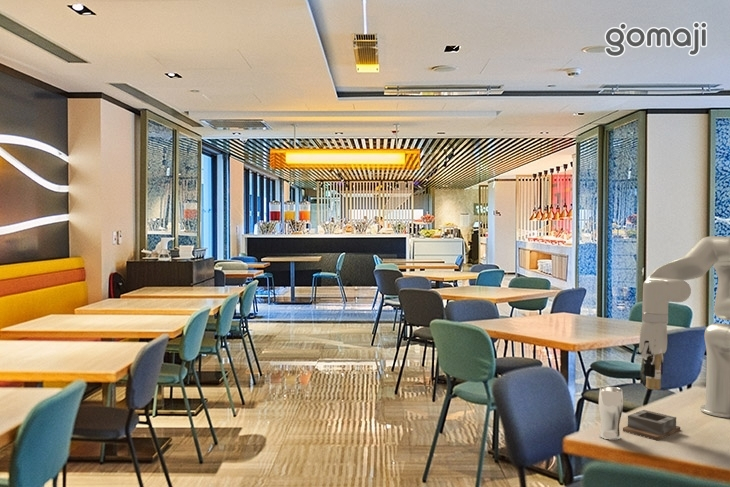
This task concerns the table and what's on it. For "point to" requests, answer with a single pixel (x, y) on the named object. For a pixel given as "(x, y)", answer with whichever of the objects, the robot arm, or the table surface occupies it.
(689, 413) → the table surface
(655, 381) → the sprinkles bottle
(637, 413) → the socket holder
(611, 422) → the beer glass
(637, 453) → the table surface
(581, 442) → the table surface
